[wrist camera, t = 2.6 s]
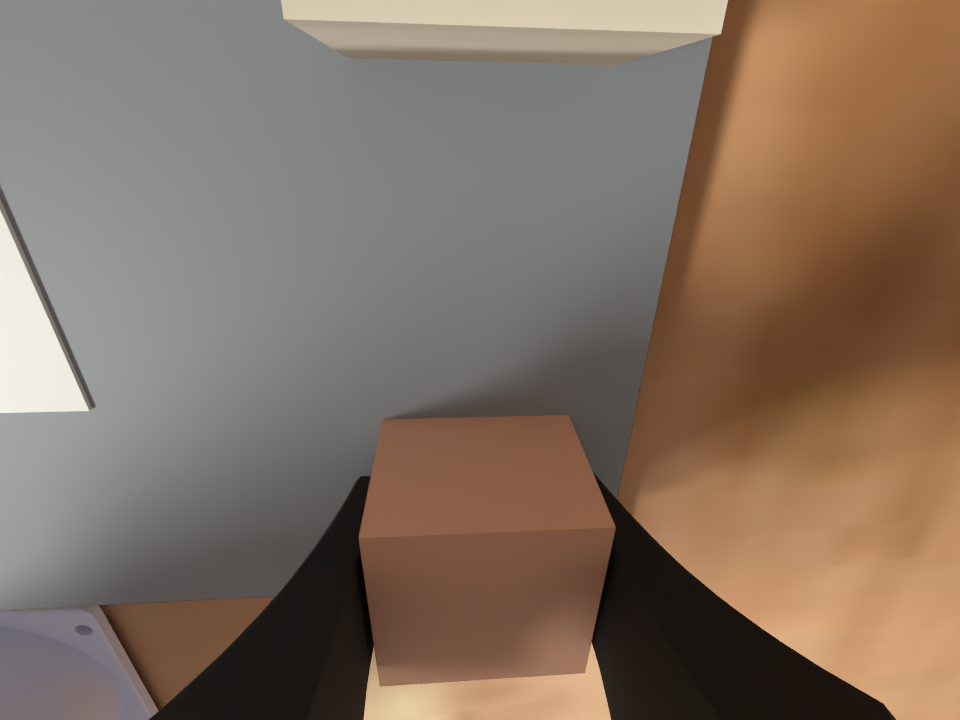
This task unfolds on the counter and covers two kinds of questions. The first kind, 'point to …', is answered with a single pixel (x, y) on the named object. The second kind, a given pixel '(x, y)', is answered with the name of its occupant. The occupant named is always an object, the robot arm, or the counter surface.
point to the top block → (507, 28)
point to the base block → (482, 549)
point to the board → (296, 277)
